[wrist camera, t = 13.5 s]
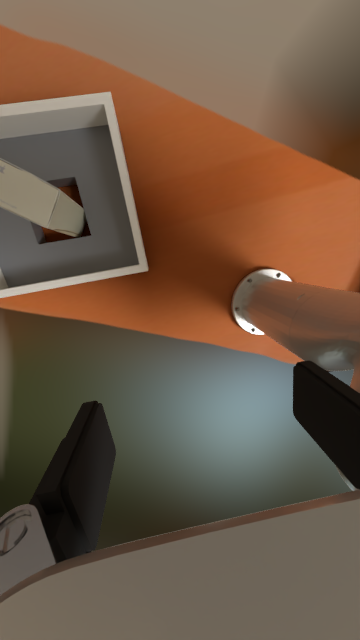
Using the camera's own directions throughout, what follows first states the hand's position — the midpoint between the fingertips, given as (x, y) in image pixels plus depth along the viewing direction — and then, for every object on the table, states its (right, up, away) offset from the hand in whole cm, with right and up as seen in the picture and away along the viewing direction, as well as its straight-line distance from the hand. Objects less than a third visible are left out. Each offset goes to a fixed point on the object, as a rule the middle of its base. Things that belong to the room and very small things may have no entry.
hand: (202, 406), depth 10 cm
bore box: (-19, +20, +23) cm, 36 cm away
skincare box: (-19, +20, +23) cm, 36 cm away
